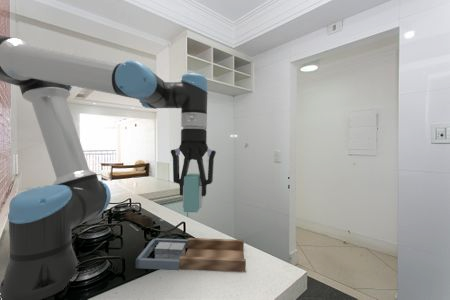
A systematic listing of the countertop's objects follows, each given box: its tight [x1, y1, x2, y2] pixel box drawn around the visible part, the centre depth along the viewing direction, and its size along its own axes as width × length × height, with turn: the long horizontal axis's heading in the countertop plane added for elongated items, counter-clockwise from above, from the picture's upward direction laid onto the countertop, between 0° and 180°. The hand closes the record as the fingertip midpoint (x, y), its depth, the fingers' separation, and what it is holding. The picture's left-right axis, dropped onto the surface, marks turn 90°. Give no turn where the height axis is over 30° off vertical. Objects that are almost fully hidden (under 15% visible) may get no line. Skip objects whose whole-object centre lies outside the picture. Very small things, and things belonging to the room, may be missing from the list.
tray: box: [135, 237, 188, 271], centre depth 64 cm, size 12×13×4 cm
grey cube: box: [154, 242, 172, 259], centre depth 64 cm, size 4×4×4 cm
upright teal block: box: [183, 173, 201, 213], centre depth 64 cm, size 4×7×10 cm, turn 177°
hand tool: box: [123, 210, 154, 229], centre depth 92 cm, size 19×4×5 cm, turn 50°
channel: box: [179, 237, 247, 273], centre depth 64 cm, size 18×12×4 cm
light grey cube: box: [169, 243, 186, 260], centre depth 64 cm, size 4×4×4 cm
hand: (192, 206), depth 64 cm, fingers closed on upright teal block, 4 cm apart
